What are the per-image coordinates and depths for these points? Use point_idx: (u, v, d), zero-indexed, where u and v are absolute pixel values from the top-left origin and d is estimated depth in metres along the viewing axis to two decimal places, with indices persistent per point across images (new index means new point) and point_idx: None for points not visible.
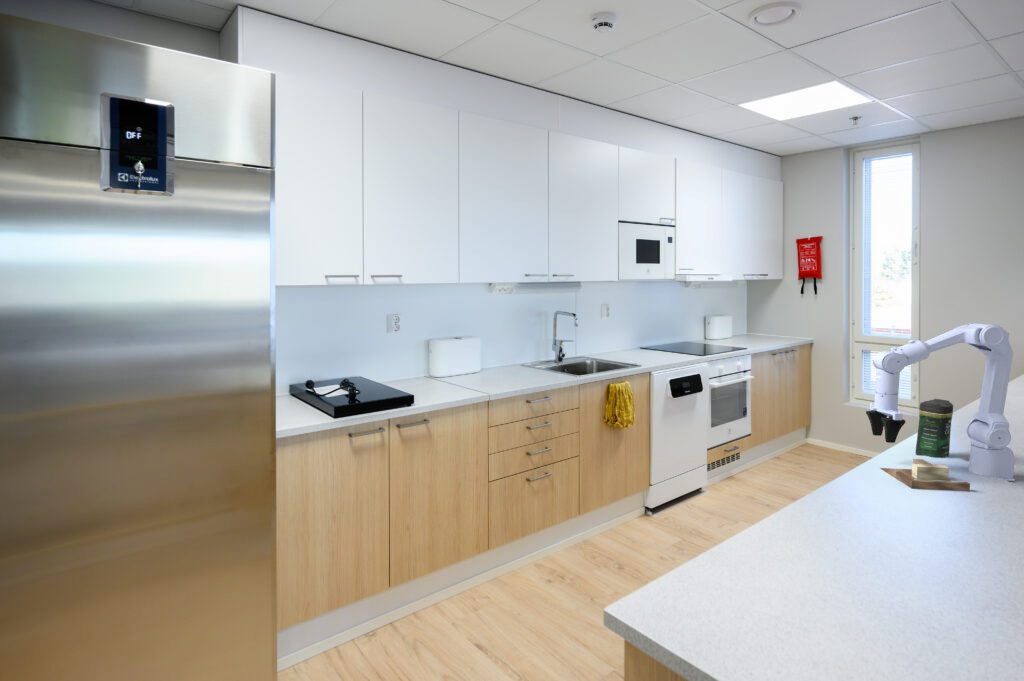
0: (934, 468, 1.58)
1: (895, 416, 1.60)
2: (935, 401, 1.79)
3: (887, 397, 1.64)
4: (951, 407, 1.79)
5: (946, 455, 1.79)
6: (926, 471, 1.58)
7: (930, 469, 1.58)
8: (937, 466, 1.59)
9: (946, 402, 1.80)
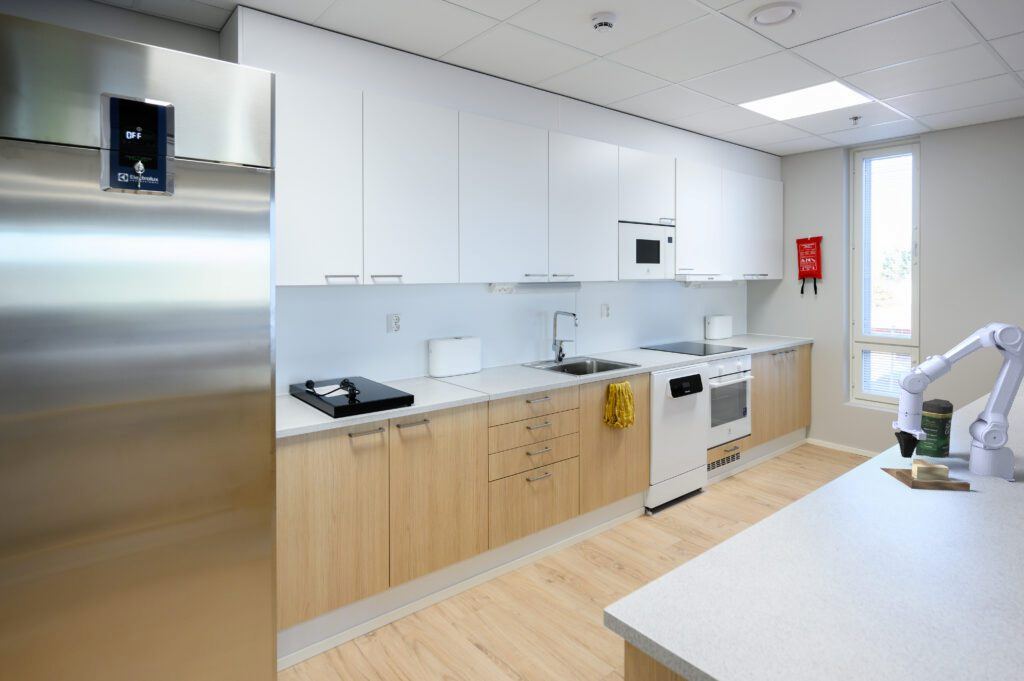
0: (934, 468, 1.58)
1: (919, 436, 1.64)
2: (935, 401, 1.79)
3: (911, 417, 1.68)
4: (951, 407, 1.79)
5: (946, 455, 1.79)
6: (926, 471, 1.58)
7: (930, 469, 1.58)
8: (937, 466, 1.59)
9: (946, 402, 1.80)
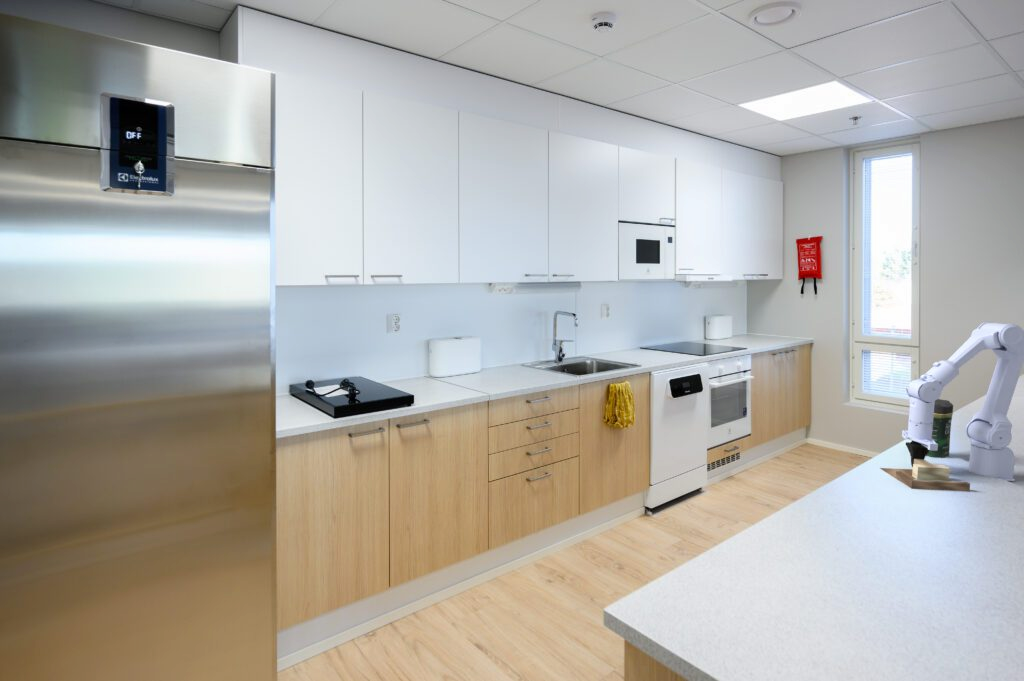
0: (935, 468, 1.58)
1: (930, 446, 1.58)
2: (935, 401, 1.79)
3: (921, 426, 1.62)
4: (951, 407, 1.79)
5: (946, 455, 1.79)
6: (927, 471, 1.58)
7: (931, 469, 1.58)
8: (938, 466, 1.59)
9: (946, 402, 1.80)
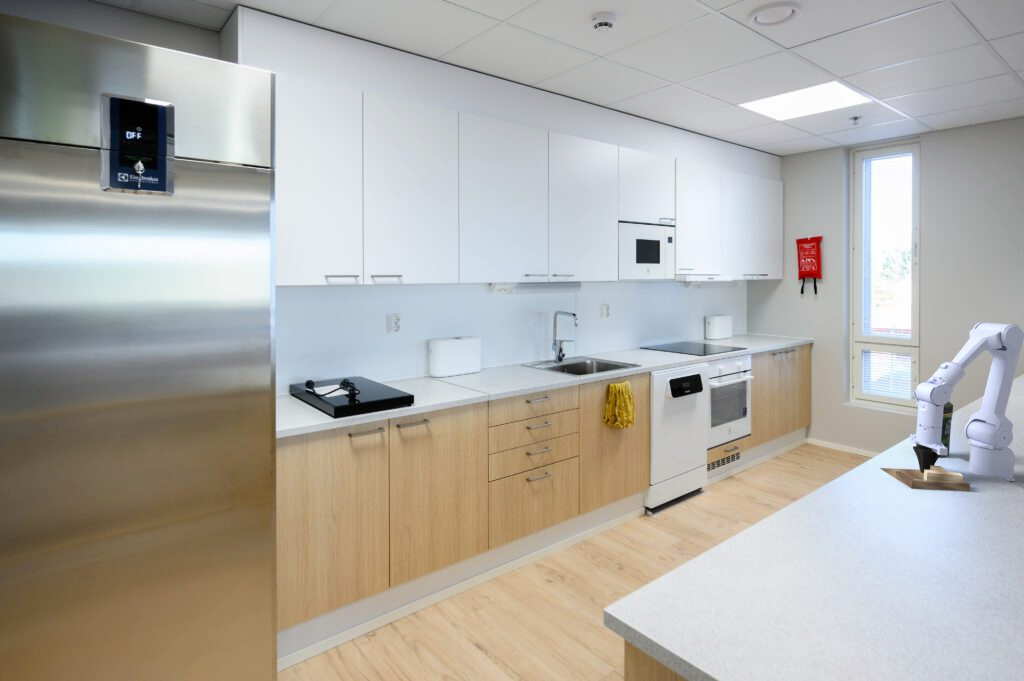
0: (946, 475, 1.52)
1: (940, 451, 1.54)
2: None
3: (930, 430, 1.58)
4: (951, 407, 1.79)
5: (946, 455, 1.79)
6: (937, 478, 1.53)
7: (942, 476, 1.53)
8: (951, 473, 1.53)
9: None
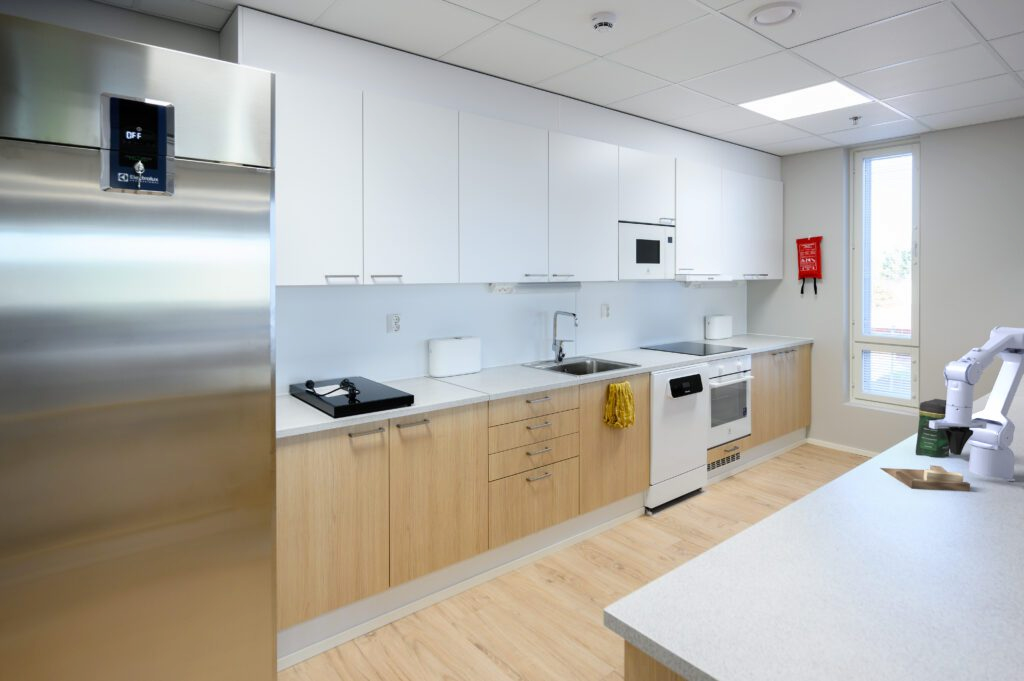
0: (946, 475, 1.52)
1: (929, 423, 1.58)
2: (935, 401, 1.79)
3: (946, 407, 1.58)
4: None
5: (946, 455, 1.79)
6: (937, 478, 1.53)
7: (941, 476, 1.53)
8: (951, 473, 1.53)
9: None
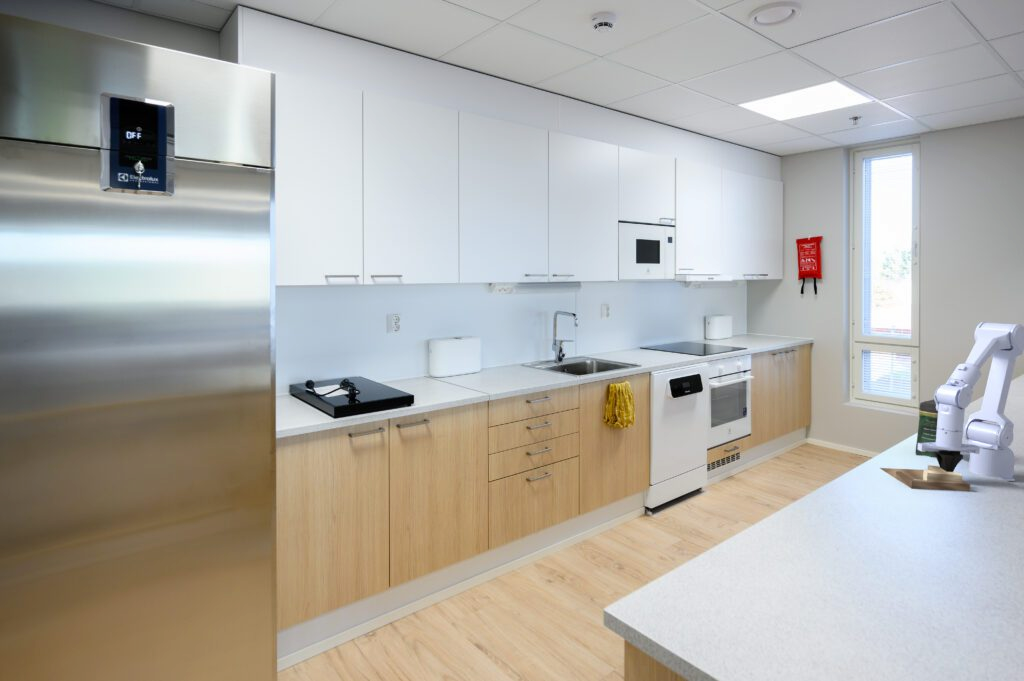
0: (946, 475, 1.52)
1: (918, 446, 1.59)
2: None
3: None
4: None
5: None
6: (937, 478, 1.53)
7: (941, 476, 1.53)
8: (950, 473, 1.53)
9: None
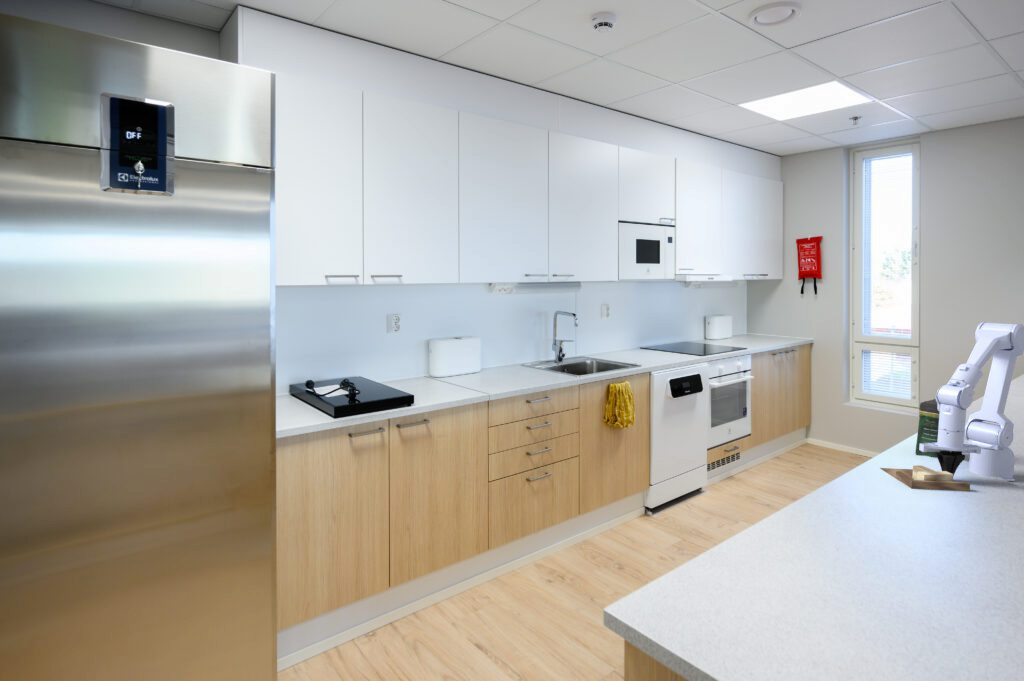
0: (940, 475, 1.52)
1: (919, 446, 1.59)
2: (935, 401, 1.79)
3: (938, 431, 1.58)
4: None
5: None
6: (933, 479, 1.52)
7: (936, 476, 1.52)
8: (941, 473, 1.53)
9: None
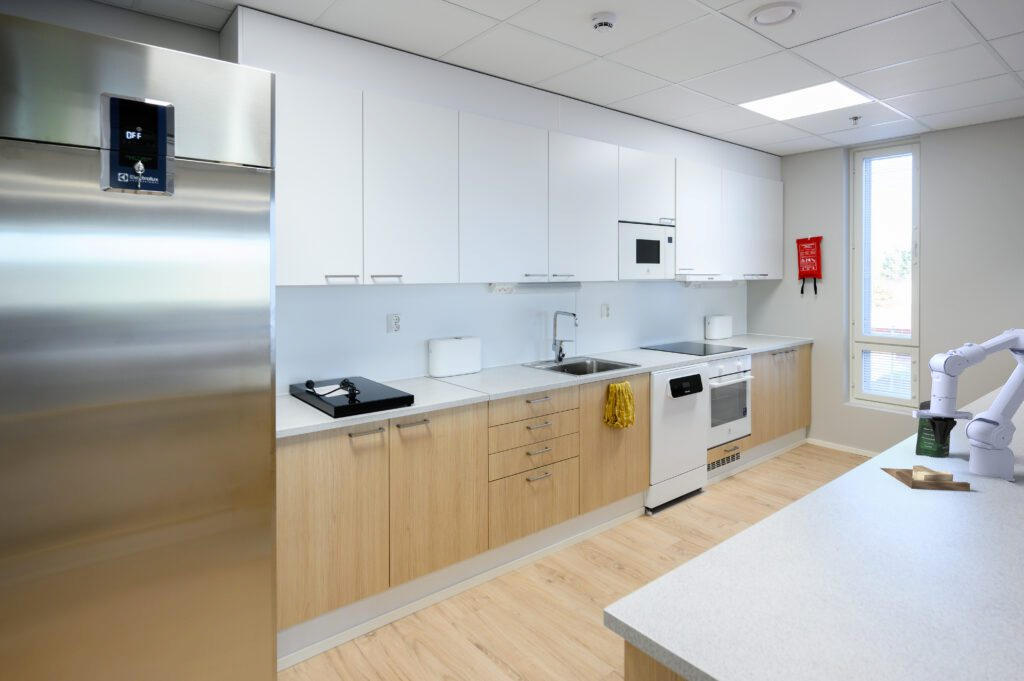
0: (940, 475, 1.52)
1: None
2: None
3: (931, 398, 1.63)
4: None
5: (946, 455, 1.79)
6: (933, 479, 1.52)
7: (936, 476, 1.52)
8: (941, 473, 1.53)
9: None
